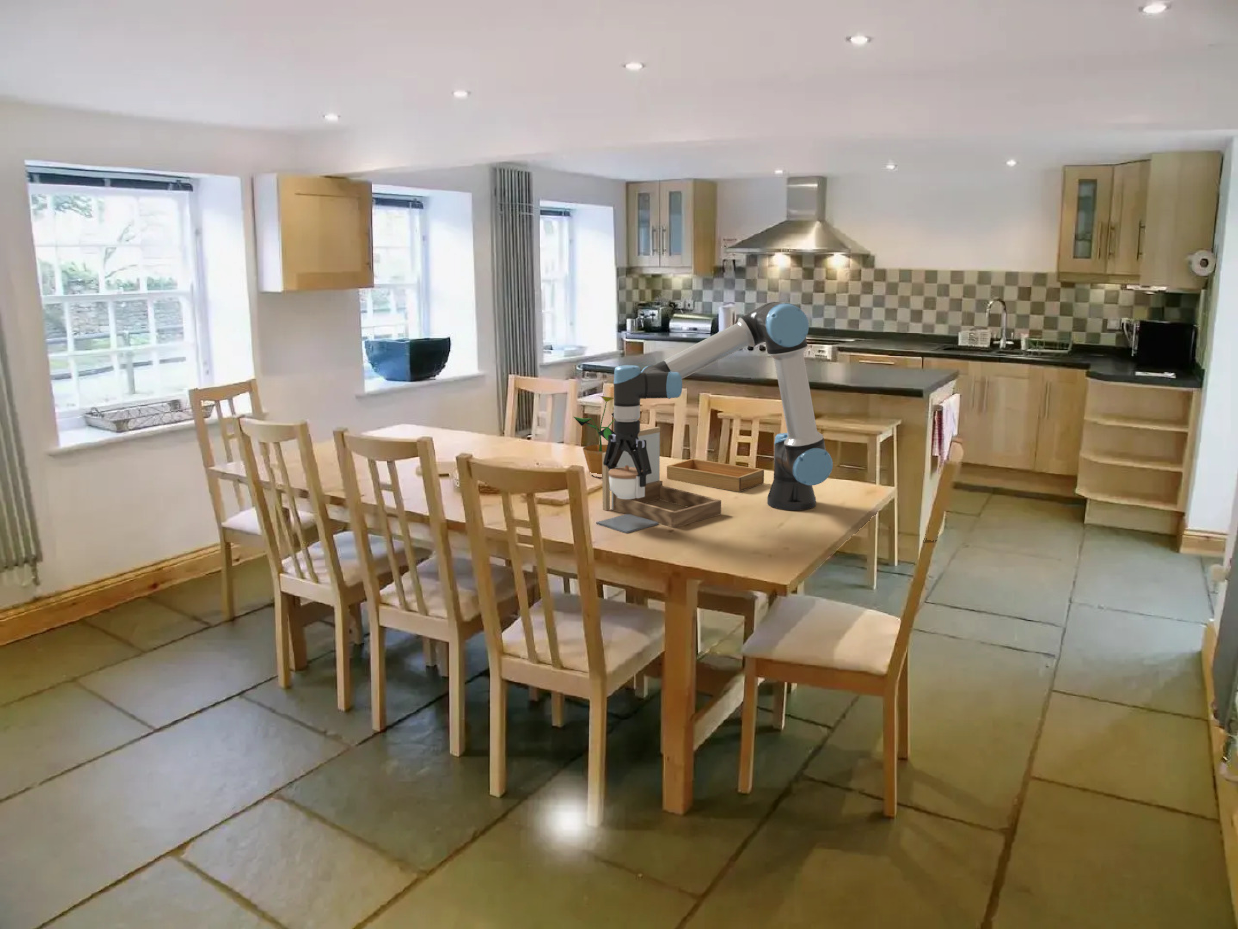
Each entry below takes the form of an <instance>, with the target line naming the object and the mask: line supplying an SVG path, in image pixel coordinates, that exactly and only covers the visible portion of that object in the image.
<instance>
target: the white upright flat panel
mask: <svg viewBox="0 0 1238 929" xmlns="http://www.w3.org/2000/svg"><path fill="white" fill-rule="evenodd" d="M660 433H661V427H660V426H655V427H654V426H653V427H651V428H650V427H649V428H644V429H643V428H642V429H640V432H639V433H638V439H639V440H646V449H647V453H648V457H649V462H650V466H651V471H652V473H651V474H648V475H646V484H647V483H651V482H656V481H661V480H660V473H661V472H660V471H661V465H660V463H661V462H660V459H661V458H660V457H661V456H660V451H661V450H660V448H661V447H660V443H661V441H660V439H661V438H660V437H661V436H660ZM634 451H635V450H634ZM605 454H606V453H602V477H601V478H602V481H601V482H602V510H604V511H609V510H612V511H614V510H613V492H612V491H610V483H609V468H608V467H607V466H606V465H604V464H603V462H604V458H605ZM608 461H609V460H608ZM626 465H628V466H629V467H634V468H636V467H635V465H634V463H633V460H632V458H631V456H630V455H629V454H628V452H626V451H623V453H622V455H621V457H620V459H619V461H618V463H617V466H618V467H615V468H620V467H625V466H626Z"/></svg>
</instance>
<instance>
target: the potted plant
mask: <svg viewBox="0 0 1238 929" xmlns="http://www.w3.org/2000/svg"><path fill="white" fill-rule="evenodd" d="M596 397H598V395H596ZM599 397H601V398H602V399H603V401H604V402H605V405H604V409H603V413H602V416H601V420H600V425H599V428H598V426H597V425H596V423H595V421H594V420H593V418H591V417H590V418H589V417H588V418H582V417H577V416H573V418H574V419H575V420H576V422H577V423H578V424H579V425H580V426H582V427H583V426H584V425H585V424H586V425H587V426H588V427H590V428H592V429H596V431H597V434H598V437H599V444H589V445H586V446H584V447H582V451H583V454H584V458H585V461H586V464H587V469H588V473H590V472H591V473H597V474H602V453H606V450H607V445H608V444H603V443H602V437H603V439H605V441H607V442H608V435H611V434H616V433H615V432H614V430H612V429H611V427H610V426H611V425H612V424H613V423H614V421H615V420H616V419H615V418H614V412H612V413H611V416H612V417H613V418H614V419H613V420H612V421H611V422H610V423H609V424H608V425H607V426H602V423H603V419H604V416H605V413H606V408H607V402H610V401H611V400H614V397H609V396H603V395H599ZM589 421H592V423H593V424H592V423H589Z"/></svg>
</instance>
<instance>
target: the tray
mask: <svg viewBox="0 0 1238 929" xmlns="http://www.w3.org/2000/svg"><path fill="white" fill-rule="evenodd" d="M666 479H667V480H669V481H670V480H671V481H675V482H682V483H686V484H692V485H697V486H702V487H703V486H704V487H710V488H716V489H722V490H727V491H732V492H738V493H739V492H740V493H741V492H743V491H746V490H749V489H751V488H753V487H758V486H760V485H762V484H763V485H764V481H765V470H764V469H761V468H757V467H756V468H755V467H749V466H742V465H737V464H736V465H735V464H729V463H723V462H717V461H710V460H704V459H699V458H690V459H687V460H683V461H679V462H675V463H673V464H669V465H667V466H666Z"/></svg>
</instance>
